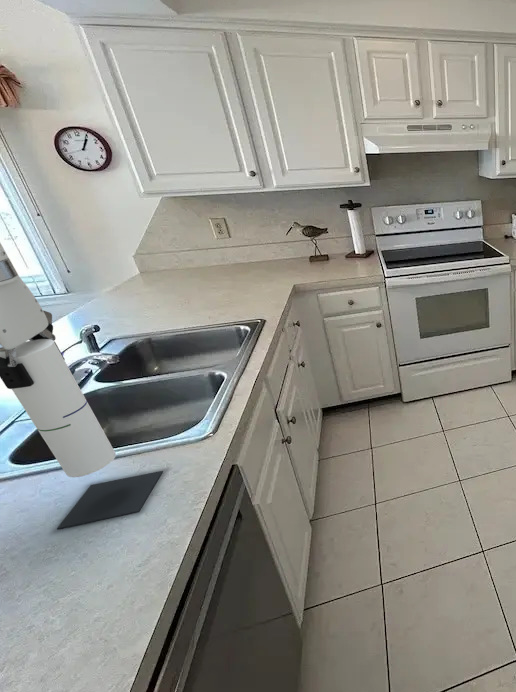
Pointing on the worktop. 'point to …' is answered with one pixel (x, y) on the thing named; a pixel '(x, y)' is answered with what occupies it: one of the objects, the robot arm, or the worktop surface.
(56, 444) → the cylindrical container
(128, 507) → the mat
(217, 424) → the worktop surface
